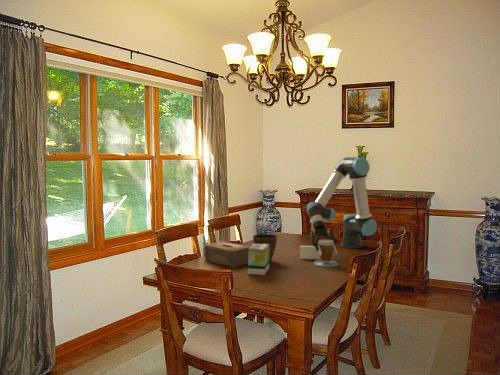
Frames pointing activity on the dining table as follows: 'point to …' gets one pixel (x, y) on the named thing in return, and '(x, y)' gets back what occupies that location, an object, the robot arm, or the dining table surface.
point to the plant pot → (266, 242)
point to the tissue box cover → (227, 253)
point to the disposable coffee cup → (326, 249)
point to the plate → (326, 264)
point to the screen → (309, 253)
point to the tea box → (258, 259)
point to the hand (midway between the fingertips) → (328, 254)
